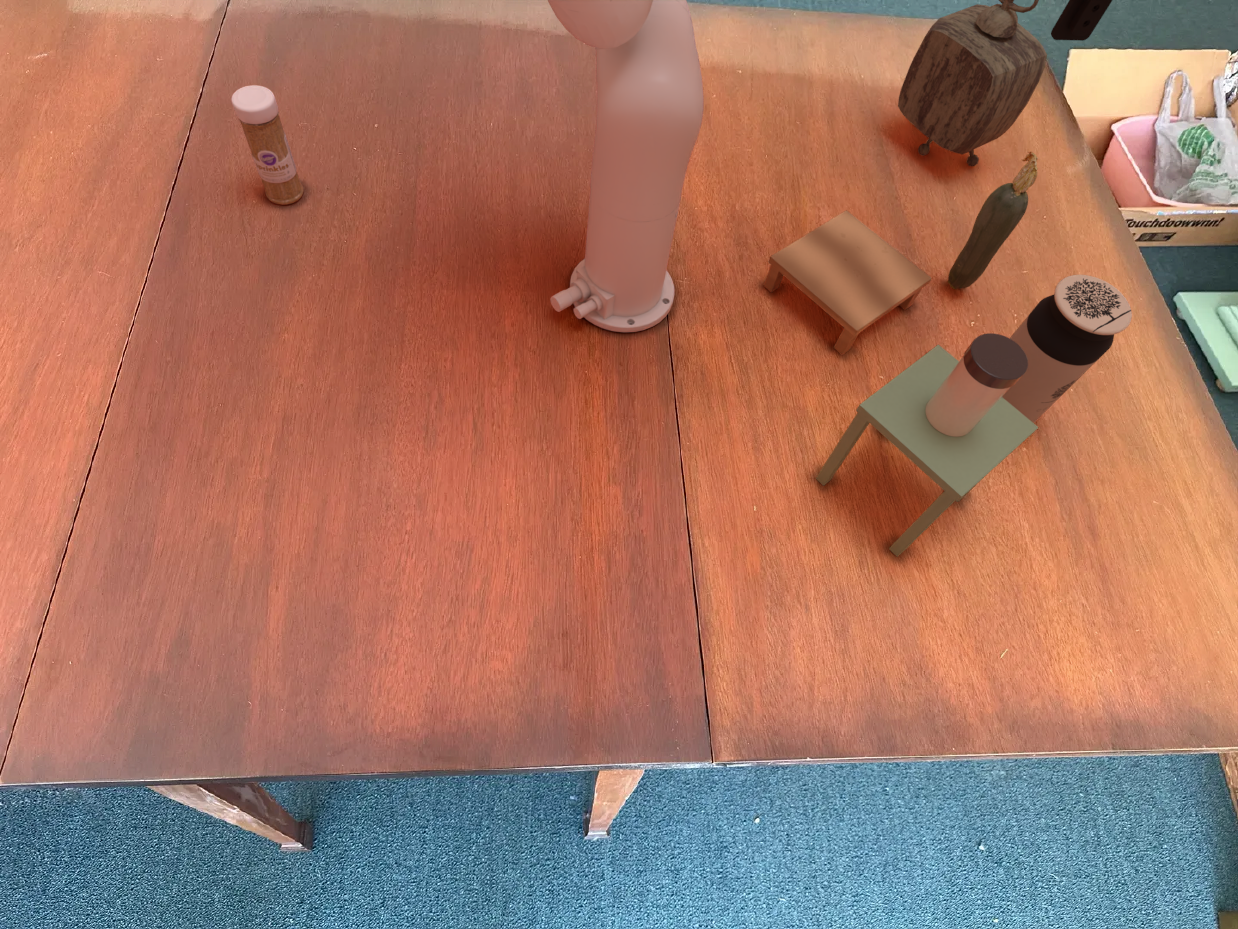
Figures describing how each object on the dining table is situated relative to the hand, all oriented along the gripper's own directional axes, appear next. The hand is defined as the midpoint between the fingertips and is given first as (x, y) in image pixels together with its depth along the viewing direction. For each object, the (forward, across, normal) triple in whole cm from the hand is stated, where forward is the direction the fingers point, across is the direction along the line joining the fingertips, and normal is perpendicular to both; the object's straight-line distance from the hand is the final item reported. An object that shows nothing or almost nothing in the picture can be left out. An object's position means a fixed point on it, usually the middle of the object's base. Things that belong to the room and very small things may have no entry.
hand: (1045, 3), depth 66 cm
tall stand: (+37, +26, -6) cm, 46 cm away
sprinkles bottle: (+37, -20, -73) cm, 84 cm away
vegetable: (+37, -2, +10) cm, 38 cm away
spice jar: (+23, +26, -6) cm, 35 cm away
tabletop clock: (+37, -28, +16) cm, 49 cm away
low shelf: (+37, -1, -5) cm, 37 cm away
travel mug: (+37, +17, +10) cm, 42 cm away
